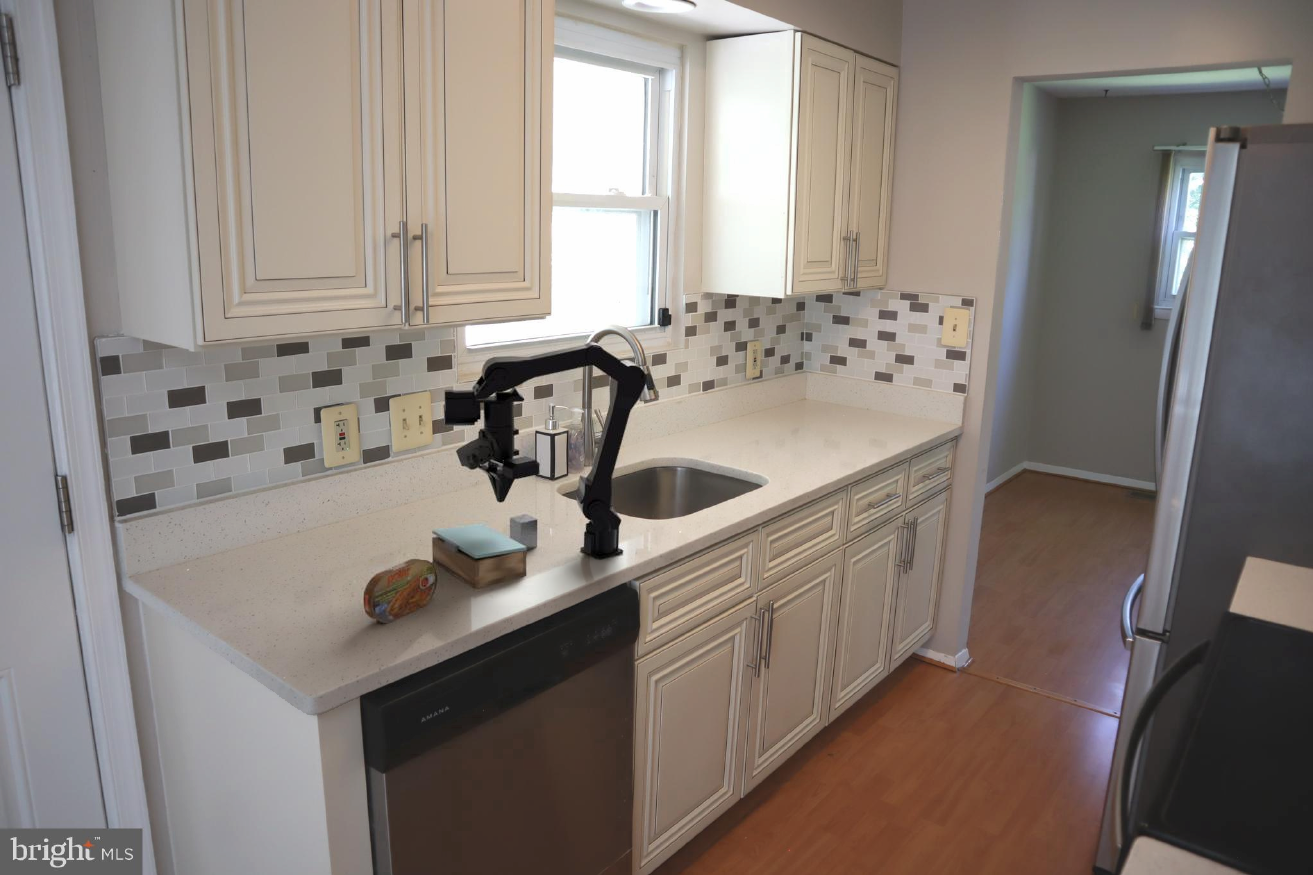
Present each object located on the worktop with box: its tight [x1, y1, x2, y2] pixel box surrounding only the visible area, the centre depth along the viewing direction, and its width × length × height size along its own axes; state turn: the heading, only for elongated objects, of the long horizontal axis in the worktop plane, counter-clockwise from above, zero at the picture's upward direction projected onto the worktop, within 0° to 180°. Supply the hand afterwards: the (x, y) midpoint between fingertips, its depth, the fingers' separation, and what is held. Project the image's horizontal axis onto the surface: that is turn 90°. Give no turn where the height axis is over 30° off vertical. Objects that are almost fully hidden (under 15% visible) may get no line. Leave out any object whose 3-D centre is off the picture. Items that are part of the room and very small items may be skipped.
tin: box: [363, 558, 439, 624], centre depth 156 cm, size 15×3×8 cm, turn 150°
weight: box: [509, 513, 538, 550], centre depth 188 cm, size 4×4×6 cm
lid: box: [431, 523, 528, 558], centre depth 175 cm, size 12×16×1 cm
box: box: [431, 535, 528, 589], centre depth 176 cm, size 11×16×5 cm
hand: (500, 501), depth 179 cm, fingers closed
